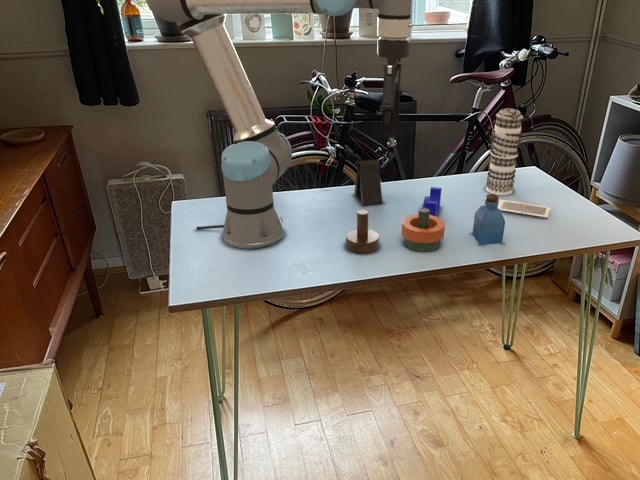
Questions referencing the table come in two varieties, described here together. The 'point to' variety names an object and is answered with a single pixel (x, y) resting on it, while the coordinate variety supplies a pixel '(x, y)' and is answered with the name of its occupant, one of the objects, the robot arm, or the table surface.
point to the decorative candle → (504, 151)
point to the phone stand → (368, 182)
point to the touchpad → (524, 208)
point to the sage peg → (423, 224)
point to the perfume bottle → (489, 222)
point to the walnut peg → (362, 236)
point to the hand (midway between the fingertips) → (390, 129)
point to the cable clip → (433, 201)
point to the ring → (420, 234)
